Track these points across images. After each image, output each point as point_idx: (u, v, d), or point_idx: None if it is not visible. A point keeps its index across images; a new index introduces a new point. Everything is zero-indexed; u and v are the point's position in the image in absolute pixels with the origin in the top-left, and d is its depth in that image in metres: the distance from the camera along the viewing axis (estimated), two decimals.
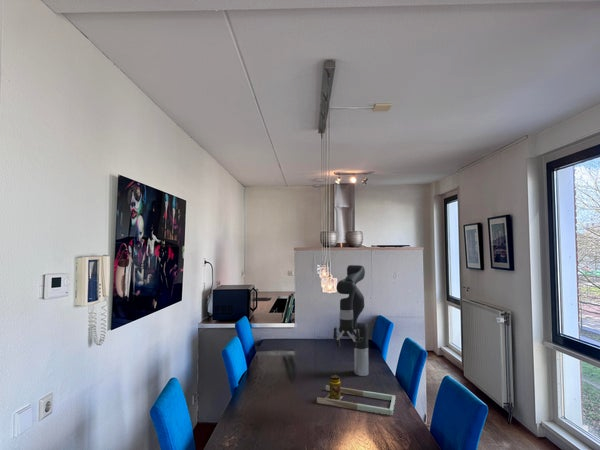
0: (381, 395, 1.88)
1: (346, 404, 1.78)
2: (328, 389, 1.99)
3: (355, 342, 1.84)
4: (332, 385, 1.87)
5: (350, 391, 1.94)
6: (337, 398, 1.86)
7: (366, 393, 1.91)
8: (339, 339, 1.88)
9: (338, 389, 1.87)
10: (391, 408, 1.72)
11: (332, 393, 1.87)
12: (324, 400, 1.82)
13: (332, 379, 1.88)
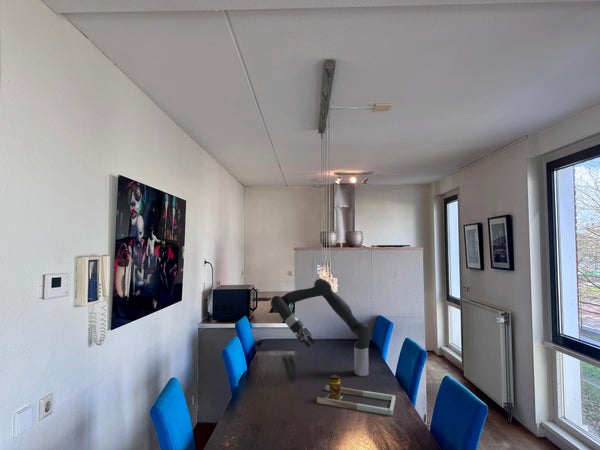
0: (381, 395, 1.88)
1: (346, 404, 1.78)
2: (328, 389, 1.99)
3: None
4: (332, 385, 1.87)
5: (350, 391, 1.94)
6: (337, 398, 1.86)
7: (366, 393, 1.91)
8: (310, 337, 2.04)
9: (338, 389, 1.87)
10: (391, 408, 1.72)
11: (332, 393, 1.87)
12: (324, 400, 1.82)
13: (332, 379, 1.88)
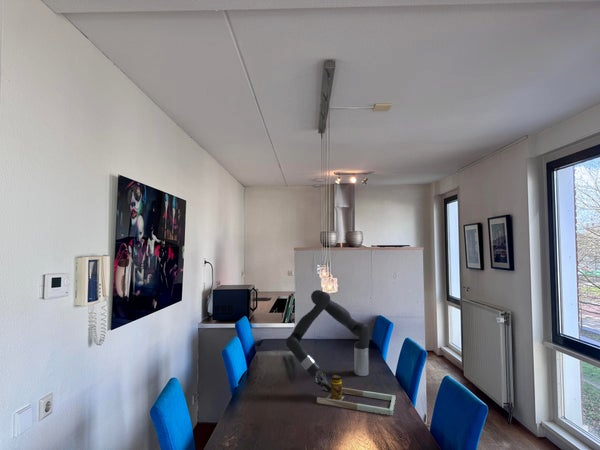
0: (381, 395, 1.88)
1: (346, 404, 1.78)
2: None
3: (324, 386, 1.91)
4: (333, 385, 1.87)
5: (350, 391, 1.94)
6: (338, 398, 1.86)
7: (366, 393, 1.91)
8: None
9: (339, 389, 1.87)
10: (391, 408, 1.72)
11: (333, 393, 1.87)
12: (324, 400, 1.82)
13: (334, 380, 1.87)
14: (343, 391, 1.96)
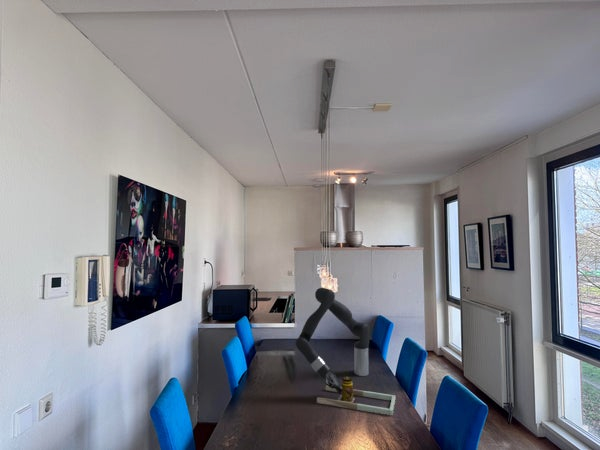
0: (381, 395, 1.88)
1: (346, 404, 1.78)
2: (328, 389, 1.99)
3: (335, 388, 1.88)
4: (345, 387, 1.85)
5: None
6: (350, 400, 1.84)
7: (366, 393, 1.91)
8: None
9: (351, 391, 1.85)
10: (391, 408, 1.72)
11: (345, 395, 1.84)
12: (324, 400, 1.82)
13: (345, 381, 1.85)
14: None
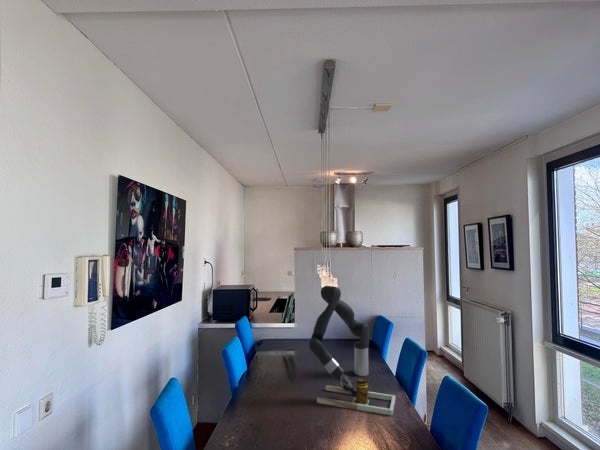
0: (381, 395, 1.88)
1: (346, 404, 1.78)
2: (328, 389, 1.99)
3: (350, 390, 1.85)
4: (360, 389, 1.82)
5: None
6: (365, 402, 1.81)
7: None
8: None
9: (366, 393, 1.82)
10: (391, 408, 1.72)
11: (360, 397, 1.81)
12: (324, 400, 1.82)
13: (360, 383, 1.82)
14: (343, 391, 1.96)
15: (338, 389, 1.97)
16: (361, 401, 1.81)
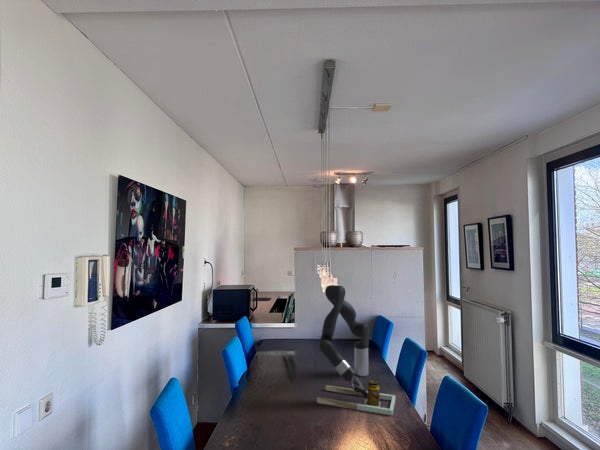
0: (381, 395, 1.88)
1: (346, 404, 1.78)
2: (328, 389, 1.99)
3: (361, 392, 1.83)
4: (372, 391, 1.79)
5: (350, 391, 1.94)
6: (377, 404, 1.79)
7: None
8: None
9: (378, 395, 1.80)
10: (391, 408, 1.72)
11: (372, 399, 1.79)
12: (324, 400, 1.82)
13: (372, 385, 1.80)
14: (343, 391, 1.96)
15: (338, 389, 1.97)
16: (373, 403, 1.79)
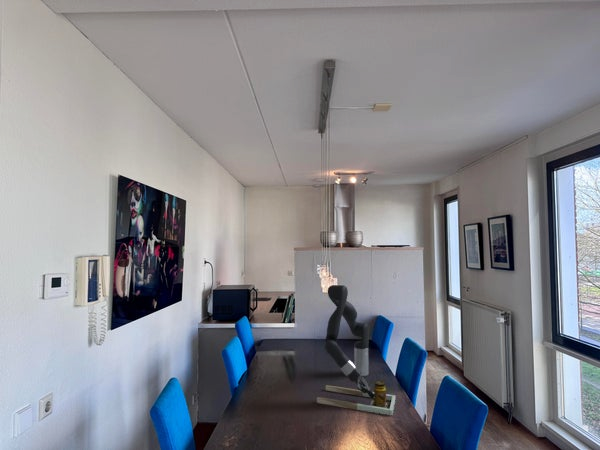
0: None
1: (346, 404, 1.78)
2: (328, 389, 1.99)
3: (367, 393, 1.82)
4: (378, 392, 1.78)
5: (350, 391, 1.94)
6: (383, 405, 1.78)
7: (366, 393, 1.91)
8: None
9: (384, 396, 1.78)
10: (391, 408, 1.72)
11: (378, 400, 1.78)
12: (324, 400, 1.82)
13: (378, 386, 1.79)
14: (343, 391, 1.96)
15: (338, 389, 1.97)
16: (379, 404, 1.78)
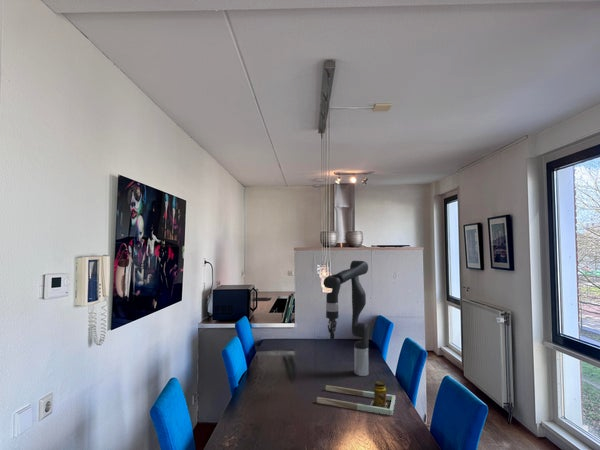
0: None
1: (346, 404, 1.78)
2: (328, 389, 1.99)
3: (330, 333, 2.03)
4: (378, 392, 1.78)
5: (350, 391, 1.94)
6: (383, 405, 1.78)
7: (366, 393, 1.91)
8: None
9: (384, 396, 1.78)
10: (391, 408, 1.72)
11: (378, 400, 1.78)
12: (324, 400, 1.82)
13: (378, 386, 1.79)
14: (343, 391, 1.96)
15: (338, 389, 1.97)
16: (379, 404, 1.78)
